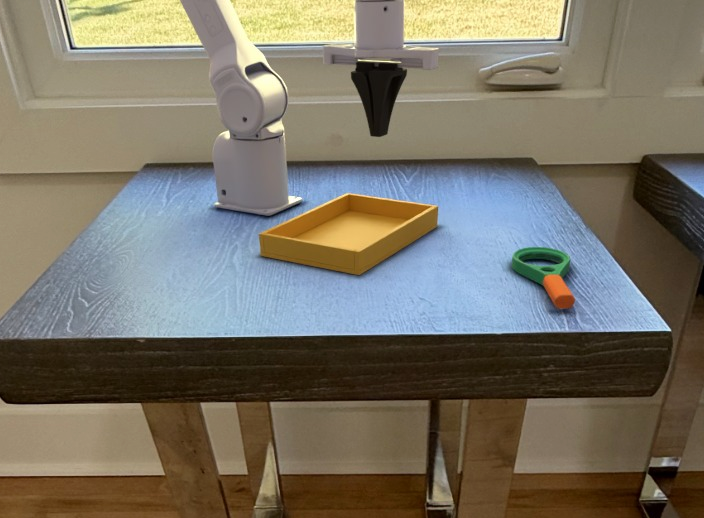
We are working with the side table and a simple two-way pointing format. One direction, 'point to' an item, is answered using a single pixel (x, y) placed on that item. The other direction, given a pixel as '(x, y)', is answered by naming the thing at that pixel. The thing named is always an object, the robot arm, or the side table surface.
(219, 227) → the side table surface
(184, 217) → the side table surface
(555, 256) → the magnifying glass
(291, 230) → the tray
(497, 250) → the side table surface
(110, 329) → the side table surface
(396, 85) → the robot arm
